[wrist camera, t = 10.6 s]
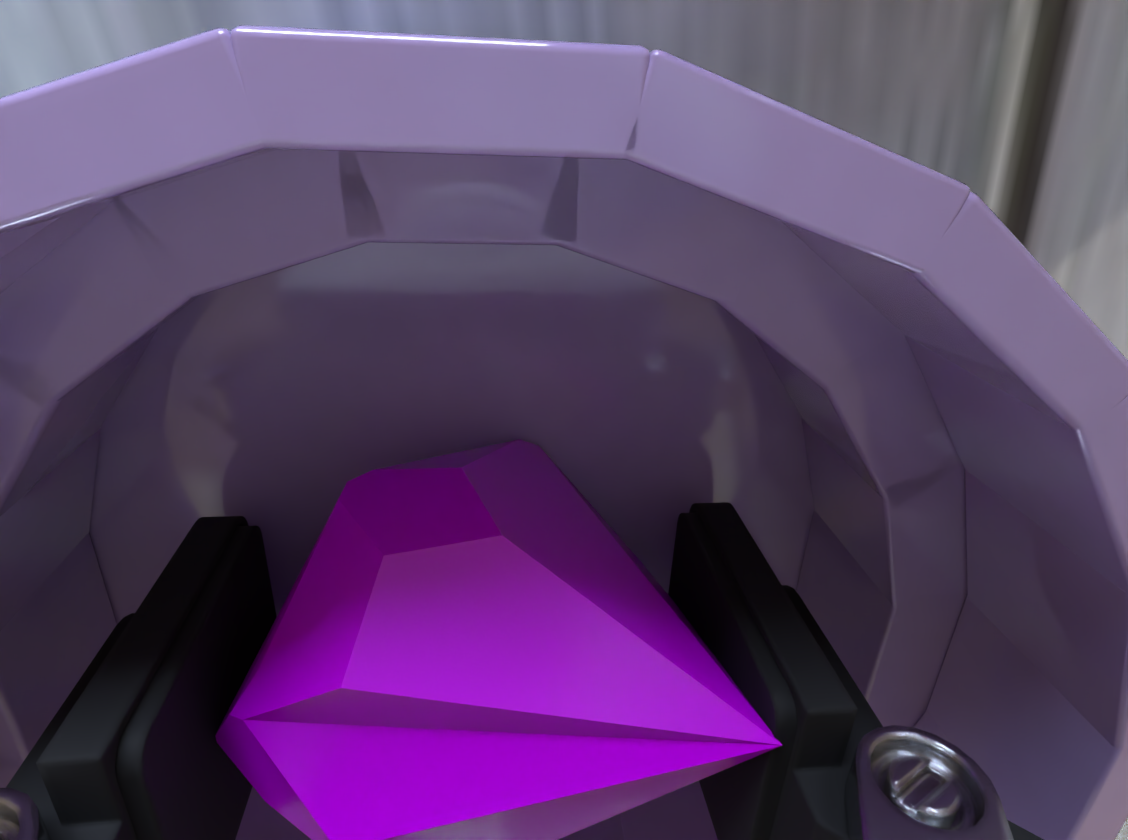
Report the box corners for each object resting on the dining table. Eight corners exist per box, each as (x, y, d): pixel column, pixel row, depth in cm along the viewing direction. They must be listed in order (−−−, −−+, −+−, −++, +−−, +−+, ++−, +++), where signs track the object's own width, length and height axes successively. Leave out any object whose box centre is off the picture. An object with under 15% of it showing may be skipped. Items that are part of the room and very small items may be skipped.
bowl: (989, 93, 9) (1553, 90, 4) (800, 794, 15) (951, 1124, 10) (-172, 41, 8) (-1308, -53, 3) (122, 849, 14) (-77, 1272, 9)
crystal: (400, 352, 9) (336, 558, 5) (708, 509, 11) (843, 758, 7) (254, 618, 11) (118, 934, 7) (542, 720, 13) (572, 1024, 9)
